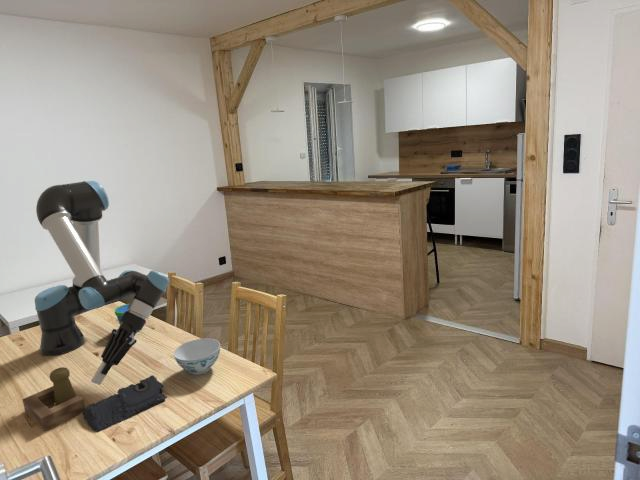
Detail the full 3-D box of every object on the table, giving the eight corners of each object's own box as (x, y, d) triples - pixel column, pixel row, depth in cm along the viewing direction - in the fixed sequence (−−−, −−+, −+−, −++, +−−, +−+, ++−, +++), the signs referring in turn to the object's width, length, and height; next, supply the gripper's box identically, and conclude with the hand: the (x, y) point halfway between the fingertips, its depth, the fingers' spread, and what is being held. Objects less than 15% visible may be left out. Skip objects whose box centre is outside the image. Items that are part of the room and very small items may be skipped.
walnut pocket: (64, 393, 140) (62, 382, 139) (85, 410, 129) (83, 398, 128) (25, 411, 132) (22, 399, 131) (44, 431, 121) (41, 418, 120)
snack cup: (146, 334, 179) (142, 311, 177) (118, 340, 175) (113, 317, 173) (145, 321, 193) (141, 299, 191) (119, 326, 189) (114, 304, 187)
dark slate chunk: (78, 413, 129) (74, 399, 128) (151, 381, 143) (149, 368, 142) (94, 437, 118) (91, 421, 117) (172, 399, 132) (169, 385, 131)
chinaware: (168, 372, 147) (164, 351, 146) (207, 354, 158) (204, 334, 156) (192, 387, 137) (189, 365, 135) (232, 366, 148) (229, 345, 146)
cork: (57, 410, 130) (49, 377, 128) (52, 403, 135) (44, 370, 132) (79, 401, 134) (72, 368, 132) (74, 394, 139) (66, 362, 136)
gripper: (155, 323, 145) (114, 393, 137) (136, 315, 154) (97, 380, 146) (137, 314, 140) (93, 386, 132) (118, 306, 149) (76, 373, 141)
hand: (95, 382), depth 139 cm, fingers closed
